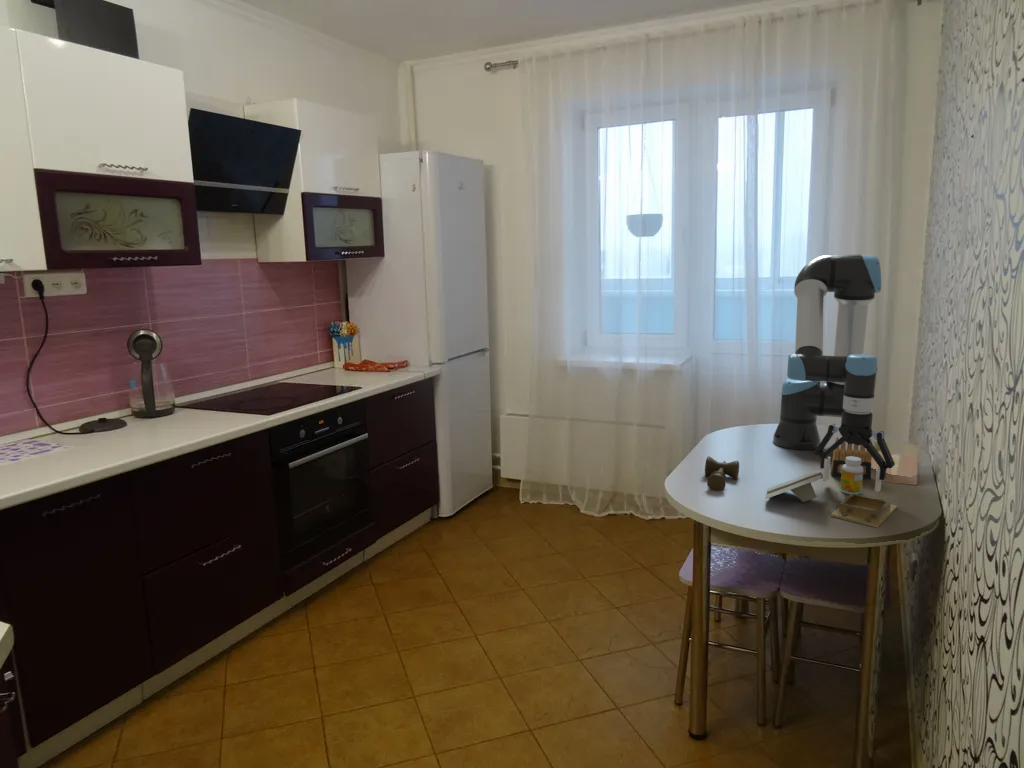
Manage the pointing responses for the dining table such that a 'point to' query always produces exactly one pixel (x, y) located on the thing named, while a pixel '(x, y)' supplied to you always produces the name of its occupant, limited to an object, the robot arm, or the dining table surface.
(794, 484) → the grey tablet stand
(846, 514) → the wooden holder tray
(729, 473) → the kendama
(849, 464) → the supplement bottle
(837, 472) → the ammunition clip
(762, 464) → the dining table surface
